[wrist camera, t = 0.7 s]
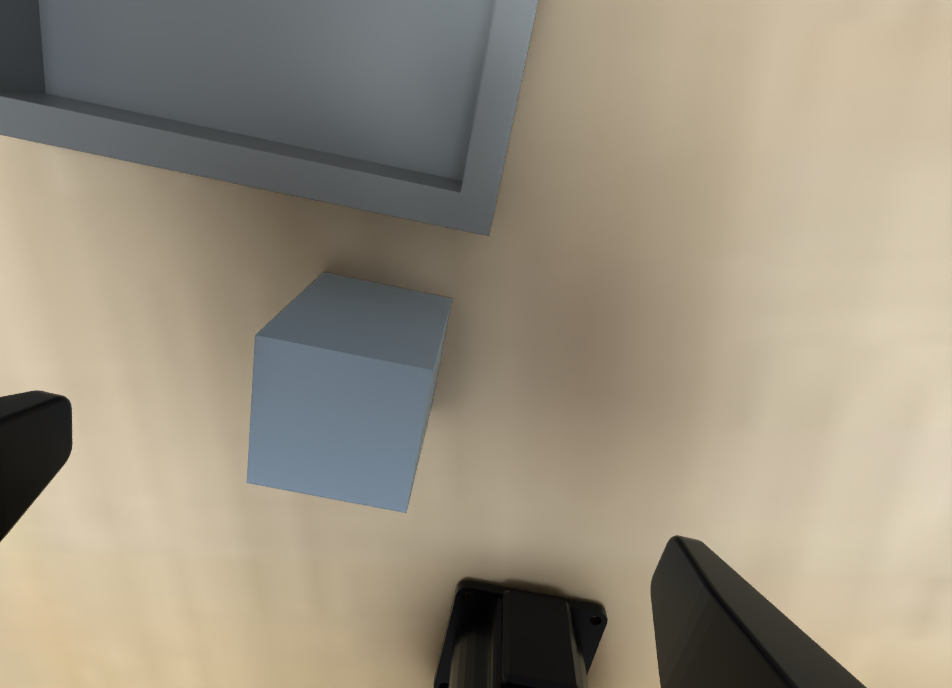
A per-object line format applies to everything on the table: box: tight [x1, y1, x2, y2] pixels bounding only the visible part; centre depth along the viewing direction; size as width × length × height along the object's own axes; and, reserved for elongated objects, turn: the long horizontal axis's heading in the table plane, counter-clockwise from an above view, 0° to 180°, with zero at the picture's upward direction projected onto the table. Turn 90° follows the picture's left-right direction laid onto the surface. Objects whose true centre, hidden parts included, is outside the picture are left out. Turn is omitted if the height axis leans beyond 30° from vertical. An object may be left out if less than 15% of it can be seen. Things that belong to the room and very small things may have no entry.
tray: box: [0, 0, 538, 236], centre depth 16 cm, size 8×15×3 cm, turn 79°
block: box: [247, 272, 452, 513], centre depth 18 cm, size 4×4×6 cm
